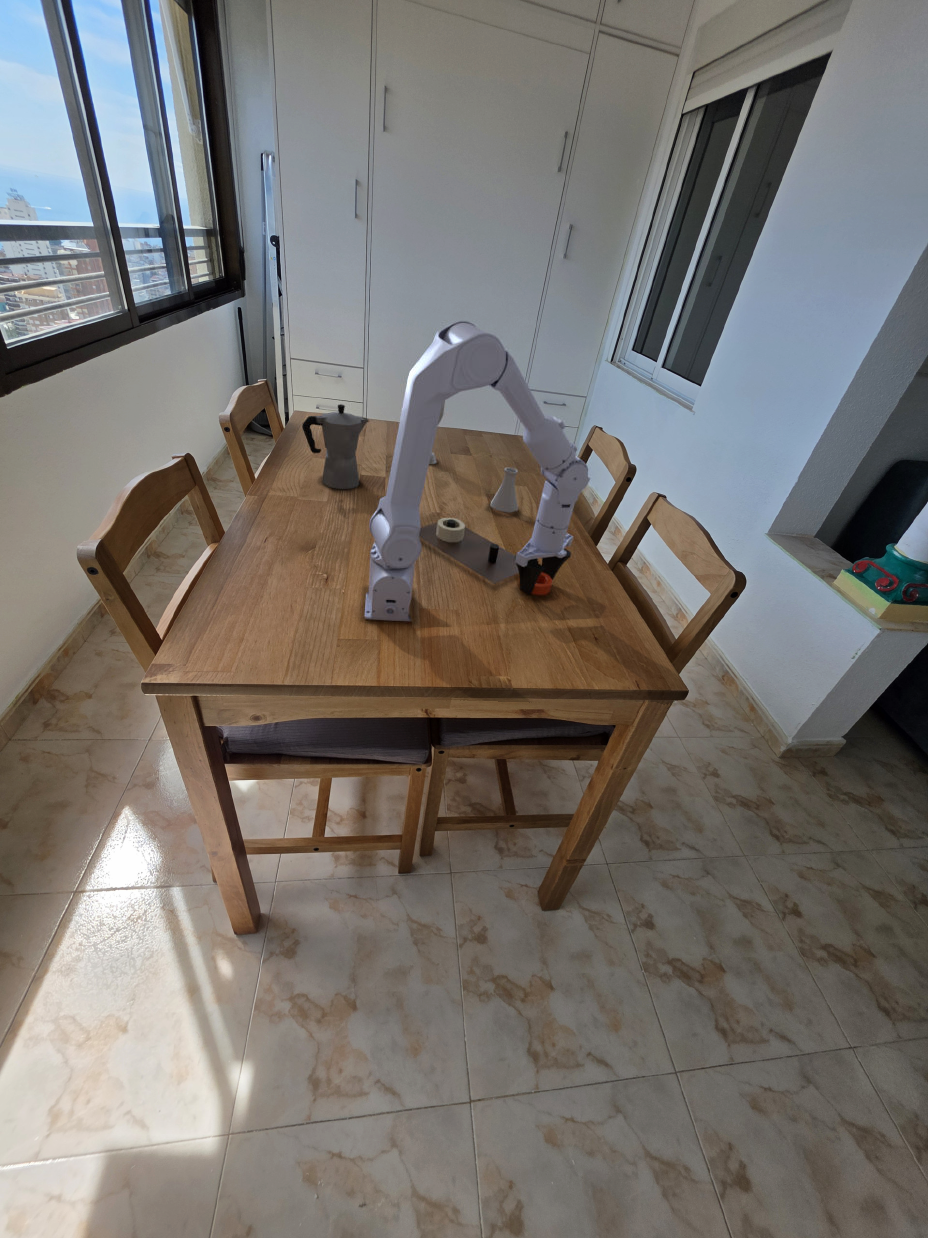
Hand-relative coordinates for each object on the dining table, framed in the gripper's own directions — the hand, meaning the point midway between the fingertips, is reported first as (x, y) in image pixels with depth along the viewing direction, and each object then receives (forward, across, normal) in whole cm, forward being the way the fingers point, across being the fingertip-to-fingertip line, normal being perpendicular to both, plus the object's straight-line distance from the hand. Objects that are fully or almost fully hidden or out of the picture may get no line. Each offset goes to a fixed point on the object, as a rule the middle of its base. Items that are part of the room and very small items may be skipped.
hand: (535, 587), depth 100 cm
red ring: (+1, 0, 0) cm, 1 cm away
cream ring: (0, 0, +23) cm, 23 cm away
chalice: (+1, +28, +60) cm, 66 cm away
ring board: (+1, 0, +17) cm, 17 cm away
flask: (+1, +23, +27) cm, 35 cm away
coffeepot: (+1, -4, +58) cm, 58 cm away
